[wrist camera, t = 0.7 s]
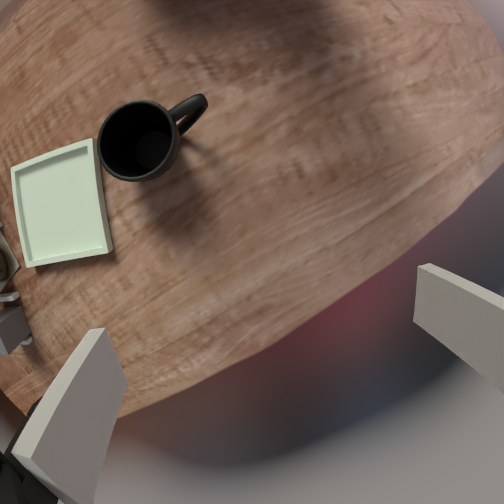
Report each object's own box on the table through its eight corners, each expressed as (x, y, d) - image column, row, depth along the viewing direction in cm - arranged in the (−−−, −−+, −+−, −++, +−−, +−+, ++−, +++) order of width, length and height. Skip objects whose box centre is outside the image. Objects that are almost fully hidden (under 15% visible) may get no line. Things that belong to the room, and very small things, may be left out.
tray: (18, 168, 29) (10, 167, 28) (97, 139, 31) (92, 137, 29) (33, 264, 33) (26, 267, 31) (113, 249, 35) (108, 252, 33)
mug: (224, 144, 34) (227, 130, 24) (143, 194, 34) (119, 198, 24) (193, 93, 31) (187, 65, 22) (114, 143, 31) (84, 131, 22)
